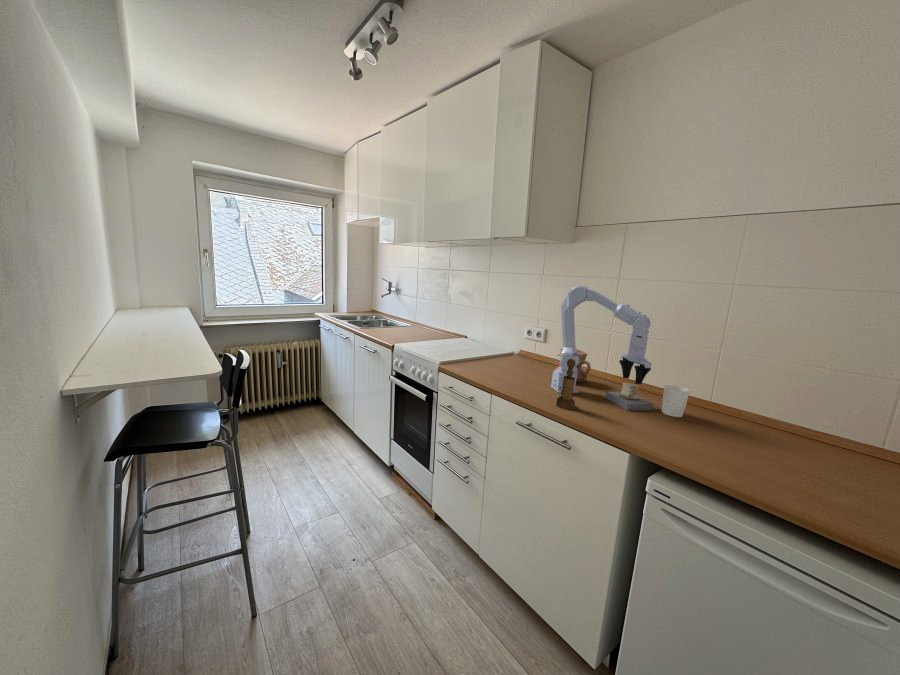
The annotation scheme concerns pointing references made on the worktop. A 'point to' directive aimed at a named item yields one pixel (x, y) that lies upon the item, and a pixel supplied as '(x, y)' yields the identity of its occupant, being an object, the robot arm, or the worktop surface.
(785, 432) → the worktop surface
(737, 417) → the worktop surface
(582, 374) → the ceramic jug
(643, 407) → the socket board
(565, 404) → the brown capped rod
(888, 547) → the worktop surface
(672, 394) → the white cup
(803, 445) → the worktop surface
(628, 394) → the peg
